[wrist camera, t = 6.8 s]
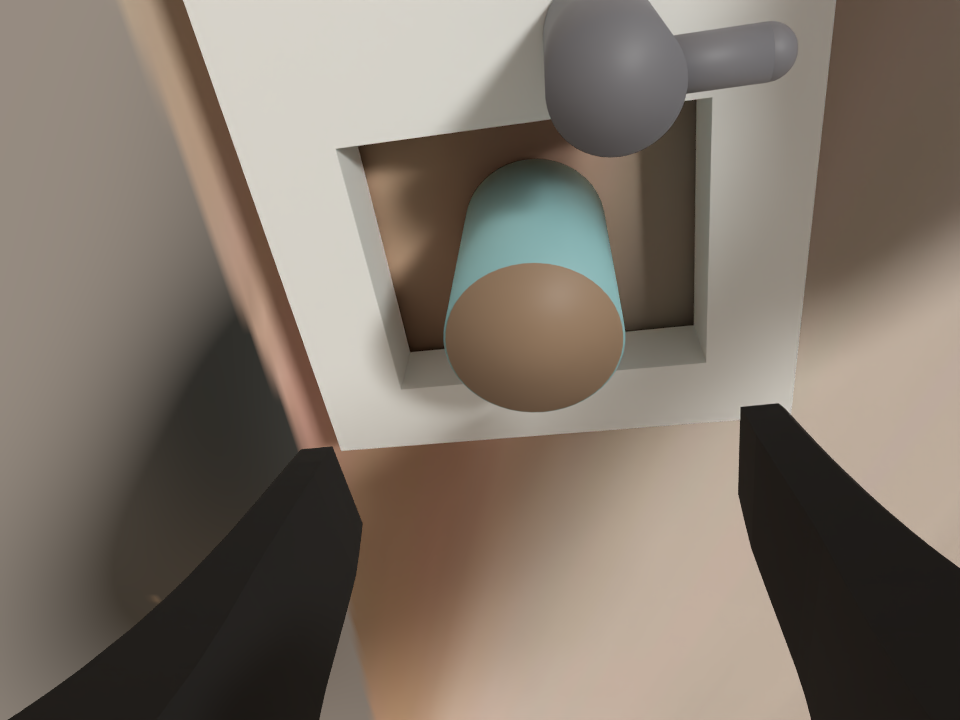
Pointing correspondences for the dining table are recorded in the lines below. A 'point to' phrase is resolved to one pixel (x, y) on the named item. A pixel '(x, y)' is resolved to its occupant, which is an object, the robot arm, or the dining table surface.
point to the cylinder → (534, 291)
